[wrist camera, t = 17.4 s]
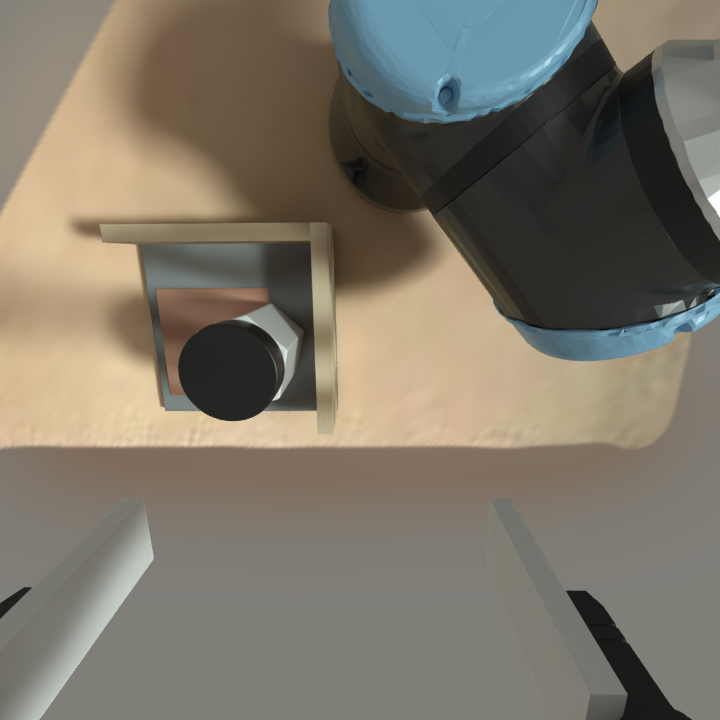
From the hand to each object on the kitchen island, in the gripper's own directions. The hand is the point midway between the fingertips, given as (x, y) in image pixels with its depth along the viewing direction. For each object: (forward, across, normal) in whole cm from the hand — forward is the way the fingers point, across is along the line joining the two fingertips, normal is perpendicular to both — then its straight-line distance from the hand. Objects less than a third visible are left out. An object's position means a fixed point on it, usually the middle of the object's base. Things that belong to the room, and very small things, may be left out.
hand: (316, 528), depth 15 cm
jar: (+29, -9, +1) cm, 30 cm away
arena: (+30, -12, +3) cm, 32 cm away
